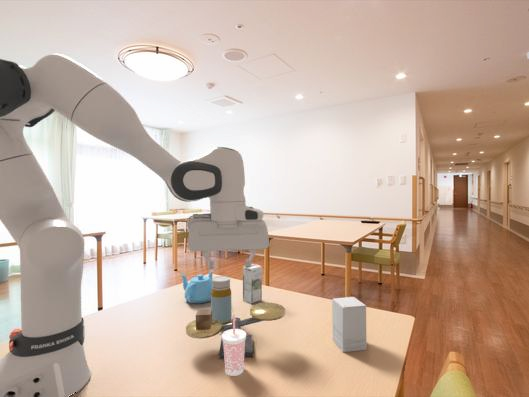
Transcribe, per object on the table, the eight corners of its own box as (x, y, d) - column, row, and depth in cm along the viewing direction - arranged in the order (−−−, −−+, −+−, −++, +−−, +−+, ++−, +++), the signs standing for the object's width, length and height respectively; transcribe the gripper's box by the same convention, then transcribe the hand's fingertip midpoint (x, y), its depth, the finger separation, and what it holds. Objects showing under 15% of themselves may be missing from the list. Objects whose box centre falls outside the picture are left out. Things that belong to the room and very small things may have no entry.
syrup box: (253, 296, 120) (252, 263, 119) (262, 300, 115) (262, 265, 115) (242, 300, 116) (242, 265, 116) (251, 304, 111) (251, 268, 111)
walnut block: (195, 329, 76) (195, 315, 76) (198, 322, 80) (197, 309, 80) (210, 328, 77) (210, 314, 77) (212, 322, 81) (212, 308, 81)
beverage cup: (217, 371, 69) (216, 315, 69) (234, 359, 74) (233, 307, 74) (235, 381, 66) (234, 322, 66) (251, 368, 71) (251, 313, 70)
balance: (182, 362, 73) (182, 321, 73) (189, 342, 83) (189, 305, 83) (287, 356, 76) (287, 316, 75) (282, 337, 86) (282, 301, 85)
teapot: (184, 308, 108) (184, 282, 108) (180, 295, 122) (179, 272, 122) (221, 302, 114) (221, 277, 114) (213, 290, 128) (213, 268, 128)
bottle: (227, 327, 92) (227, 282, 92) (207, 325, 94) (207, 281, 94) (234, 318, 99) (233, 276, 99) (215, 316, 101) (215, 275, 100)
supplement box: (367, 350, 78) (367, 305, 78) (342, 352, 77) (342, 307, 77) (354, 336, 86) (354, 296, 85) (331, 339, 84) (331, 297, 84)
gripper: (183, 215, 67) (185, 272, 67) (268, 212, 67) (270, 269, 68) (189, 213, 73) (191, 265, 73) (267, 210, 73) (269, 262, 74)
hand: (230, 267), depth 70 cm, fingers open, 8 cm apart
